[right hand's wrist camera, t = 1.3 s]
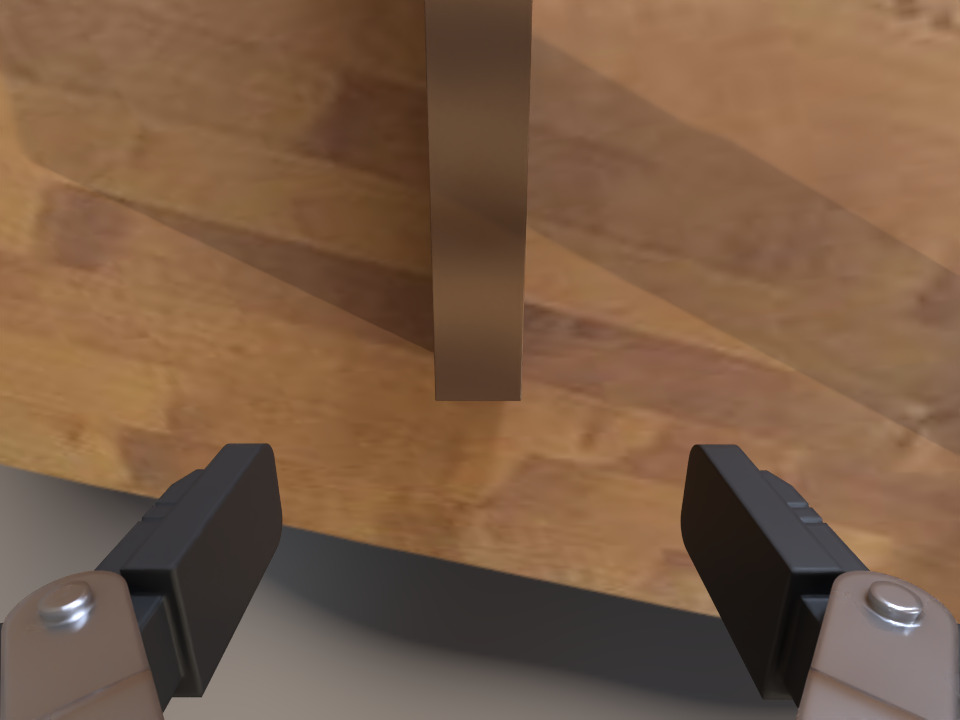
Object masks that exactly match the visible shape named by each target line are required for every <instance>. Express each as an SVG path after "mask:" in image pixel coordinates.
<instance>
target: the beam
mask: <svg viewBox="0 0 960 720" xmlns="http://www.w3.org/2000/svg"><path fill="white" fill-rule="evenodd" d="M424 2H425V38H426V74H427V110H428V147H429V183H430V219H431V255H432V291H433V327H434V363H435V400H436V401H521V389H522V354H523V318H524V282H525V246H526V210H527V175H528V139H529V103H530V67H531V31H532V0H424Z"/></svg>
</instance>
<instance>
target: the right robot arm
mask: <svg viewBox="0 0 960 720" xmlns="http://www.w3.org/2000/svg"><path fill="white" fill-rule="evenodd" d="M281 531H282V509H281V502H280V495H279V487H278V480H277V473H276V466H275V459H274V453H273V450H272V448H271V446H270V445H269V444H227V445H225V446H224V447H223V448H222V449H221V451H220V452H219V453H218V454H217V455H216V456H215V458H214V459H213V460H212V461H211V462H210V464H209V465H208V466H207V467H206V468H205V469H197V470H195V471H193V472H192V473H190V474H189V475H187V476H185V477H184V478H182V479H180V480H179V481H177V482H175V483H174V484H172V485H171V486H170V487H169V488H168V489H167V491H166V492H165V493H164V494H163V495H162V496H161V497H160V498H159V499H158V501H157V502H156V505H155V506H152V507H151V508H150V509H149V510H148V512H147V513H146V514H145V515H144V516H143V517H142V521H140V522H138V523H137V524H136V525H135V526H134V527H133V528H132V529H131V530H130V531H129V532H128V534H127V535H126V536H125V537H124V538H123V539H122V540H121V541H120V542H119V543H118V545H117V546H116V547H115V548H114V549H113V550H112V551H111V552H110V553H109V554H108V556H107V557H106V558H105V559H104V560H103V561H102V562H101V563H100V564H99V566H98V567H97V568H96V569H95V570H94V571H87V572H82V573H77V574H73V575H70V576H66V577H63V578H61V579H58V580H56V581H53V582H51V583H49V584H47V585H45V586H43V587H41V588H39V589H38V590H36V591H34V592H33V593H31V594H30V595H28V596H27V597H25V598H24V599H23V600H22V601H21V602H19V603H18V604H17V605H16V606H15V607H14V608H13V609H12V610H11V611H10V613H9V614H8V615H7V617H6V618H5V620H4V623H0V720H164V717H163V712H164V710H165V709H166V707H167V705H168V703H169V701H170V700H171V698H172V697H202V695H203V694H204V692H205V690H206V688H207V686H208V684H209V682H210V680H211V678H212V676H213V674H214V672H215V670H216V668H217V666H218V664H219V662H220V660H221V658H222V656H223V654H224V652H225V650H226V648H227V646H228V644H229V642H230V640H231V638H232V636H233V634H234V632H235V630H236V628H237V626H238V624H239V622H240V620H241V618H242V616H243V614H244V612H245V610H246V608H247V606H248V604H249V602H250V600H251V598H252V596H253V594H254V592H255V590H256V588H257V586H258V584H259V583H260V580H261V579H262V577H263V574H264V573H265V571H266V569H267V567H268V564H269V563H270V561H271V559H272V557H273V555H274V553H275V551H276V549H277V547H278V544H279V541H280V537H281ZM681 532H682V538H683V542H684V545H685V547H686V550H687V552H688V554H689V556H690V558H691V560H692V562H693V563H694V565H695V567H696V569H697V571H698V573H699V575H700V577H701V579H702V581H703V583H704V585H705V587H706V589H707V591H708V593H709V595H710V597H711V599H712V601H713V603H714V605H715V607H716V609H717V611H718V612H719V614H720V616H721V618H722V620H723V622H724V624H725V626H726V628H727V630H728V632H729V634H730V636H731V638H732V640H733V642H734V644H735V646H736V648H737V650H738V652H739V654H740V656H741V658H742V660H743V661H744V663H745V665H746V667H747V669H748V671H749V673H750V675H751V677H752V679H753V681H754V683H755V685H756V687H757V689H758V691H759V693H760V695H761V697H762V699H764V700H770V699H771V700H794V702H795V704H796V706H797V707H798V713H797V717H796V720H960V624H957V623H956V620H955V618H954V617H953V615H952V614H951V613H950V611H949V610H948V609H947V608H946V607H945V606H944V605H943V604H942V603H941V602H939V601H938V600H937V599H936V598H935V597H933V596H932V595H930V594H929V593H927V592H926V591H924V590H922V589H921V588H919V587H917V586H915V585H913V584H911V583H909V582H907V581H904V580H902V579H899V578H897V577H894V576H890V575H887V574H883V573H879V572H873V571H870V570H869V569H868V568H867V567H866V566H865V565H864V564H863V563H862V562H861V561H860V560H859V558H858V557H857V556H856V555H855V554H854V553H853V552H852V551H851V550H850V549H849V548H848V546H847V545H846V544H845V543H844V542H843V541H842V540H841V539H840V538H839V537H838V536H837V534H836V533H835V532H834V531H833V530H832V529H831V528H830V527H829V526H828V525H827V523H823V522H822V518H821V517H820V516H819V515H818V514H817V513H816V511H815V510H814V509H813V508H809V506H808V503H807V502H806V501H805V499H804V498H803V497H802V496H801V495H800V494H799V493H798V492H797V491H796V490H795V489H794V487H793V486H791V485H790V484H788V483H787V482H785V481H783V480H782V479H780V478H778V477H777V476H775V475H773V474H772V473H770V472H768V471H759V470H758V468H757V467H756V466H755V465H754V464H753V463H752V461H751V460H750V459H749V458H748V457H747V456H746V454H745V453H744V452H743V451H742V450H741V449H740V448H739V447H738V446H737V445H694V446H693V447H692V449H691V451H690V455H689V461H688V468H687V475H686V482H685V489H684V496H683V503H682V510H681Z"/></svg>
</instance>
